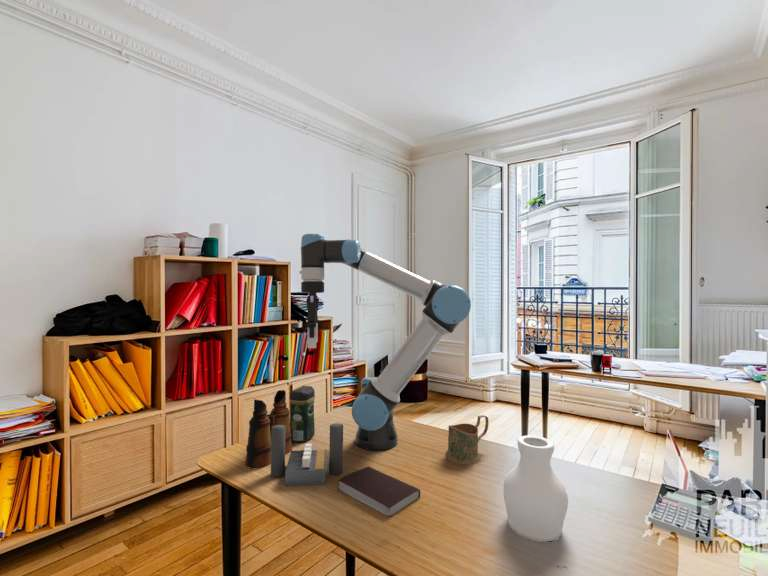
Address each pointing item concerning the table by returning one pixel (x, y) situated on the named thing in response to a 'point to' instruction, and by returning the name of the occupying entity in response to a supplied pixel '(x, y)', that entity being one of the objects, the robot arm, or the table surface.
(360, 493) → the book
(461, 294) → the robot arm
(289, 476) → the breaker box
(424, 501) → the table surface
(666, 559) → the table surface
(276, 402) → the binoculars
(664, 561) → the table surface
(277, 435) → the post
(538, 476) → the vase
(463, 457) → the weathered metal jug
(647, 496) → the table surface
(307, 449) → the row of white cubes
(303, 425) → the coffee jar
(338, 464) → the post
